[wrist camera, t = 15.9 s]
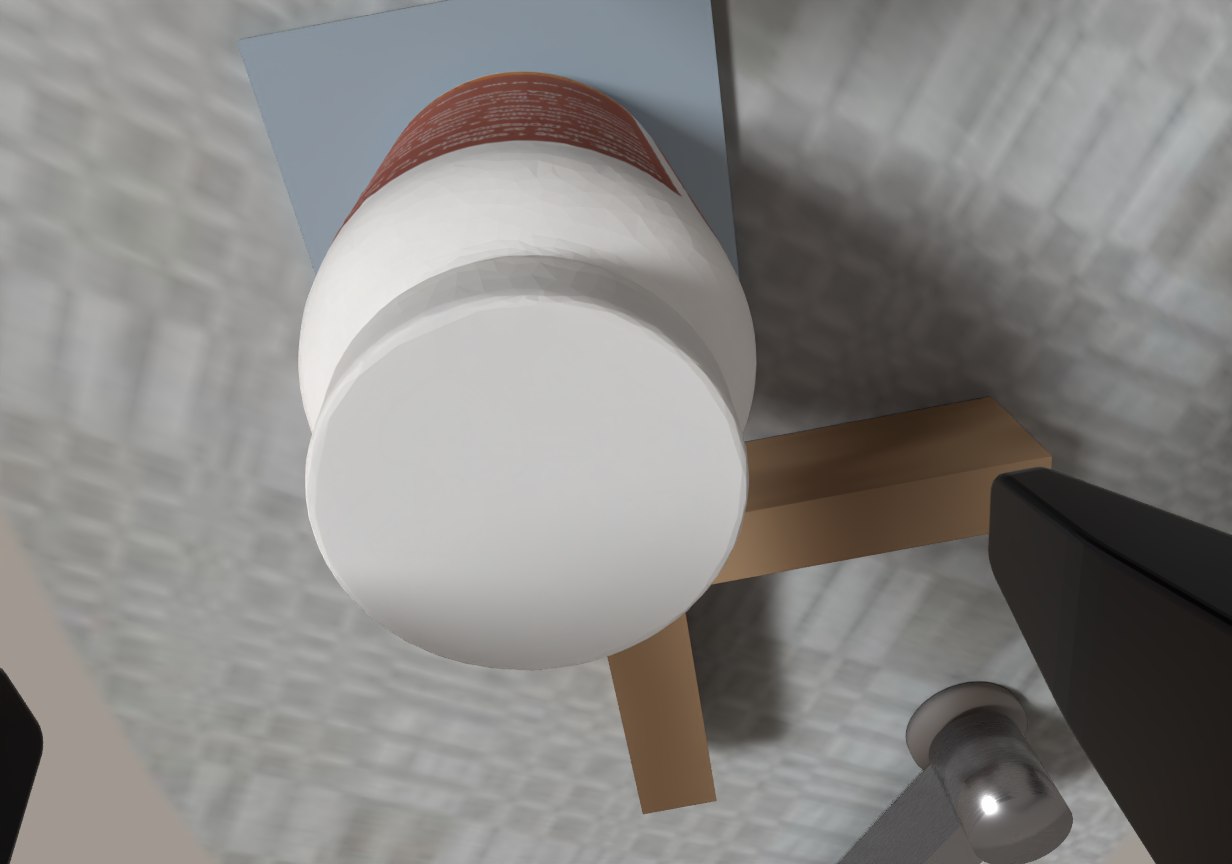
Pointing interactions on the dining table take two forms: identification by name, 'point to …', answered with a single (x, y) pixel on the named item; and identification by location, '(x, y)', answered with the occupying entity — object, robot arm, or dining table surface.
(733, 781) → the dining table surface
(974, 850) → the lever
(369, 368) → the pill bottle
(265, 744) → the dining table surface
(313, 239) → the pad
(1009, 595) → the robot arm
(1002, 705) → the wooden angled piece
